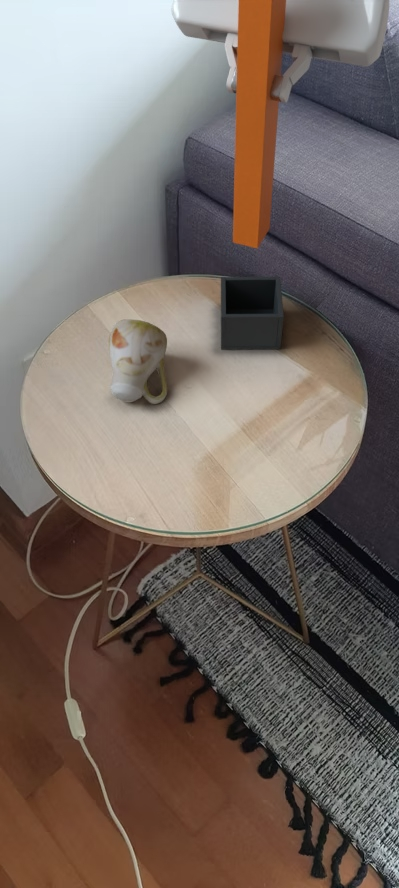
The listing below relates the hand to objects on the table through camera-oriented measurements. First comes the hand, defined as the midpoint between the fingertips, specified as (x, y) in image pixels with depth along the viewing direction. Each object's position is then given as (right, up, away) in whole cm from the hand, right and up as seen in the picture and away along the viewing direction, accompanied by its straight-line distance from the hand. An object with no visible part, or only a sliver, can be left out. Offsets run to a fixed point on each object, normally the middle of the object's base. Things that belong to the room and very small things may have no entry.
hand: (256, 95), depth 66 cm
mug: (-13, -25, +21) cm, 35 cm away
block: (+1, -9, +13) cm, 16 cm away
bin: (+1, -18, +26) cm, 32 cm away
